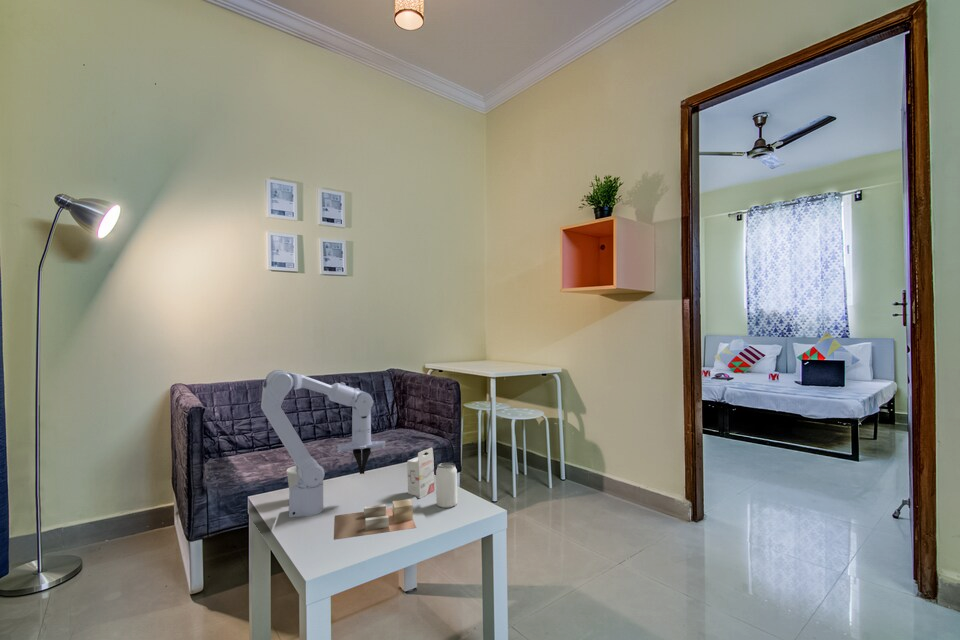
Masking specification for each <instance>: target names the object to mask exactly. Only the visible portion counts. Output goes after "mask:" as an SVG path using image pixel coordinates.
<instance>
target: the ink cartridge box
mask: <svg viewBox="0 0 960 640" xmlns="http://www.w3.org/2000/svg"><path fill="white" fill-rule="evenodd" d="M425 453H426V454H425ZM434 458H435V457H434V448H433V447H432V446H431V447H429V448H427V449H424V450H422V451H419V452H417V456H416V457H413V458H411V459H408V460H406V461H407V462H406V465H407V467H406V468H407V493H408V495H412V496H415V498H416V499H421V498H423V497H425V496H427V495H430V494H431V493H432V492H434V491H435V466H434V465H435V463H434V462H435V460H434Z"/></svg>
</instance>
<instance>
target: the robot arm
mask: <svg viewBox="0 0 960 640" xmlns="http://www.w3.org/2000/svg"><path fill="white" fill-rule="evenodd" d="M301 389H306V390H309V391H313V392H316V393H320V394H324V395H326V396H327V397H328V400H329V401H331V402H333V403H337V404H340V405H344V406H346V407H352V414H351V418H352V419H351V420H352V421H351V425H352V426H351V429H352V430H351V440H352V441H351V442H349V443H343V444H337V453H342V452H343V453H344V452H351V451H352V455H353V457H354V458H355V460H356V463H357V466H358V471H359V475H362V474H364V475H365V472H366V466H367V463H368V460H369V458H370V456H371V452H372V451H371V450H373V449H374V450H377V449H386V441H385V440H375V441H374V440H373V441H372V432H371V431H372V413H371V411H372V410H371V409H372V407H373V405H374V403H375V402H374V400H373V396H372V395H371V394H370V393H368V392H366V391H363V390H361V389H360V388H358V387H355V388H354V387H351V386H349V385H346V383H345V382H344V381H343V382H342V381H340V383H339V382H335V383H333V384H328V383H327V382H323V381H320V380H317V379H314V378H311V377H309V376H307V375H303V374H301V373H295V372H291V371H284V370H280V369H275V370H272V371H270V372H268V374H267V375H266V377H265V379H264V381H263V383H262V393H261V402H260V403H261V405H260V408H261V411H262V412H263V414H264V416H265V417H266V419H267V421H268V422H269V423H270V425H271V427H272V429H273V430H274V432H275V434H276V435H277V437H278V438H279V439H280V441H281V443H282V444H283V446H284V449H286V451H287V453H288V454H289V456H290V458H291V459H292V461H293V462H294V466H296V471H297V474H298V476H299V477H300V479H299V481H298V483H297V485H295V486H291V487H290V492H288V493H289V495H288V501H289V502H288V518H296V517H297V518H298V517H311V516H316V515H319V514H320V513H322V512H323V511H324V478H325V474H326V473H325V469H324V467H323V466H322V465H320V464H319V463H318V461H317V460H316V459H315V458H313V457H312V455H311V454H310V453H309V451H308V450H307V448H306V446H305V444H304V443H303V441H302V439H301V438H300V436H299V435H298V432H296V429H295V428H294V427H293V424H292V423H291V421H290V420H289V418H288V416H287V415H286V413H285V412H284V410H283V408H282V405H283V403H284V399H285V397H286V396H287V395H288V394H289V392H291V390H294V391H296V390H301Z"/></svg>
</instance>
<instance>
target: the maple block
mask: <svg viewBox="0 0 960 640" xmlns="http://www.w3.org/2000/svg"><path fill="white" fill-rule="evenodd" d="M413 507H414V506H413V504H412V500H411V499H410V498H408V499H402V500H392V508H393V518H394V522H400V521H408V520H414V517H413V516H414V515H413V513H414V512H413Z"/></svg>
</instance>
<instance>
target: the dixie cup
mask: <svg viewBox="0 0 960 640" xmlns="http://www.w3.org/2000/svg"><path fill="white" fill-rule="evenodd" d="M285 472H286V476H287V484H288V489H289V492H290V487H291V486H295V485H297V483H298V481H299V479H300V477H299V476H298V474H297V471H296V465H294V466H291V467H288V468H287V469H286V470H285ZM289 492H288V493H289Z"/></svg>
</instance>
